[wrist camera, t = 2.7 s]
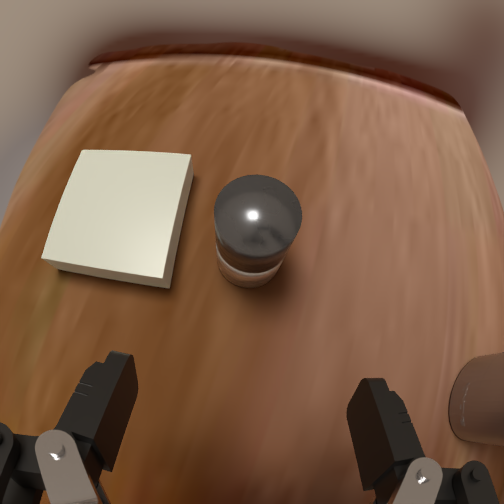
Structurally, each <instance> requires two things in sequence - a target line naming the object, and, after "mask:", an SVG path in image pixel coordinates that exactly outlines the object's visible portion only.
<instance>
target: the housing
mask: <svg viewBox="0 0 504 504" xmlns="http://www.w3.org/2000/svg"><path fill="white" fill-rule="evenodd" d="M214 217H215V234H216V250H217V262H218V266H219V269H220V271H221V273H222V274H223V276H224V277H225V278H226V279H227V280H228V281H229V282H231V283H233V284H234V285H237V286H240V287H244V288H255V287H259V286H262V285H264V284H266V283H267V282H269V281H270V280H271V279H272V278H273V277H274V275H275V274H276V272H277V270H278V269H279V267H280V265H281V263H282V261H283V259H284V257H285V256H286V254H287V252H288V250H289V248H290V246H291V244H292V242H293V240H294V239H295V237H296V235H297V233H298V231H299V229H300V226H301V222H302V210H301V206H300V203H299V201H298V198H297V197H296V195H295V194H294V192H293V191H292V190H291V189H290V188H289V187H288V186H287V185H285V184H284V183H282V182H281V181H279V180H277V179H275V178H272V177H269V176H264V175H248V176H243V177H240V178H237V179H235V180H233V181H231V182H230V183H229V184H227V185H226V186H225V187H224V188H223V189H222V191H221V192H220V193H219V195H218V197H217V199H216V202H215V207H214Z"/></svg>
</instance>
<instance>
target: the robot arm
mask: <svg viewBox="0 0 504 504" xmlns="http://www.w3.org/2000/svg"><path fill="white" fill-rule="evenodd" d="M137 393H138V380H137V375H136V369H135V363H134V357H133V355H130V354H126V353H121V352H117V351H111V352H110V353H109V355H108V356H107V358H106V360H105V362H104V363H100V362H95V363H94V364H93V365H91V366H90V367H89V368H88V369H86V370H85V372H84V374H83V376H82V378H81V379H80V383H79V384H78V385H77V387H76V389H75V392H74V393H73V394H72V396H71V398H70V400H69V402H68V404H67V406H66V408H65V410H64V412H63V414H62V416H61V418H60V420H59V422H58V424H57V425H56V427H55V428H54V429H53V430H49V431H46V432H44V433H43V434H41V435H40V436H28V435H20V434H13V433H12V431H11V430H10V429H9V428H8V427H7V426H6V425H5V424H3V423H0V504H40V500H41V497H42V493H43V490H46V491H47V494H48V497H49V500H50V502H51V504H111V503H110V501H109V499H108V497H107V494H106V492H105V490H104V488H103V486H102V484H101V482H100V479H99V478H100V475H101V472H102V469H103V470H107V471H110V472H112V470H113V467H114V464H115V461H116V457H117V454H118V451H119V448H120V445H121V442H122V439H123V436H124V433H125V430H126V427H127V424H128V421H129V418H130V415H131V412H132V410H133V407H134V404H135V401H136V398H137ZM449 416H450V423H451V426H452V429H453V431H454V433H455V434H456V436H458V437H459V438H460V439H462V440H465V441H471V442H477V443H484V444H490V445H497V446H504V352H502V353H497V354H491V355H485V356H479V357H477V358H474V359H472V360H471V361H470V362H469V363H467V365H466V366H465V367H464V368H463V369H462V371H461V372H460V374H459V376H458V377H457V380H456V382H455V384H454V387H453V390H452V394H451V399H450V405H449ZM347 421H348V425H349V429H350V433H351V437H352V442H353V446H354V450H355V454H356V459H357V463H358V468H359V472H360V477H361V481H362V486H363V491H366V490H372V489H374V490H375V494H376V495H375V496H374V497H373V498H372V500H371V502H370V503H369V504H499V501H498V498H497V495H496V492H495V489H494V486H493V483H492V480H491V478H490V475H489V472H488V470H487V468H486V467H485V465H484V464H482V463H481V462H478V461H470V462H468V463H466V464H465V465H464V466H463V467H462V468H461V469H454V468H441V467H440V466H439V464H438V463H437V462H436V461H434V460H432V459H430V458H426V457H425V455H424V453H423V450H422V447H421V445H420V442H419V439H418V437H417V434H416V432H415V429H414V427H413V424H412V423H411V419H410V417H409V414H407V409H406V407H405V404H404V402H403V400H402V399H401V398H400V397H399V396H398V395H397V394H396V393H395V391H389V388H388V386H387V383H386V381H385V380H384V379H383V378H364V379H362V380H361V382H360V383H359V385H358V387H357V389H356V391H355V393H354V395H353V396H352V398H351V400H350V402H349V404H348V407H347Z"/></svg>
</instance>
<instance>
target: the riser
mask: <svg viewBox="0 0 504 504" xmlns="http://www.w3.org/2000/svg"><path fill="white" fill-rule="evenodd" d="M193 175H194V173H193V165H192V157H191V155H189V154H176V153H162V152H144V151H120V150H82V152H81V154H80V156H79V158H78V160H77V163H76V165H75V167H74V169H73V172H72V174H71V176H70V179H69V181H68V183H67V186H66V188H65V191H64V193H63V196H62V198H61V201H60V203H59V206H58V209H57V212H56V214H55V217H54V220H53V223H52V226H51V229H50V232H49V235H48V238H47V241H46V244H45V247H44V251H43V254H42V259H44V260H45V261H46V262H48V263H49V264H51V265H52V266H54V267H55V268H57V269H59V270H64V271H69V272H74V273H80V274H85V275H90V276H96V277H102V278H107V279H113V280H119V281H125V282H131V283H137V284H143V285H149V286H156V287H162V288H169V289H170V284H171V278H172V273H173V267H174V262H175V257H176V252H177V247H178V242H179V237H180V232H181V228H182V223H183V218H184V214H185V209H186V205H187V201H188V196H189V192H190V188H191V184H192V179H193Z"/></svg>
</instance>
